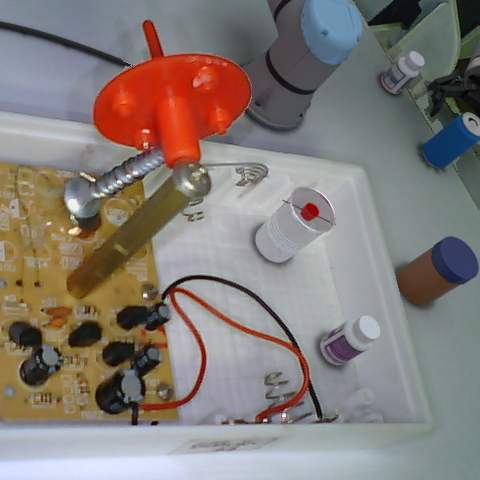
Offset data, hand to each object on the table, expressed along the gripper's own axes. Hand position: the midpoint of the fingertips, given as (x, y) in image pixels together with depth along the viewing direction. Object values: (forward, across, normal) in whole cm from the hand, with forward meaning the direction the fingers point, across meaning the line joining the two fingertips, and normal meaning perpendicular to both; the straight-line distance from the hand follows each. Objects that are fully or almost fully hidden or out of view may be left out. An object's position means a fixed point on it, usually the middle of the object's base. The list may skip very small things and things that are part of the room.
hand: (460, 133), depth 160 cm
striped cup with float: (+49, +21, -8) cm, 54 cm away
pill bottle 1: (+60, +3, -8) cm, 60 cm away
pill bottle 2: (-11, +15, -8) cm, 20 cm away
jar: (+35, -6, -8) cm, 37 cm away
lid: (+35, -6, +3) cm, 36 cm away
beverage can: (0, 0, -8) cm, 8 cm away
